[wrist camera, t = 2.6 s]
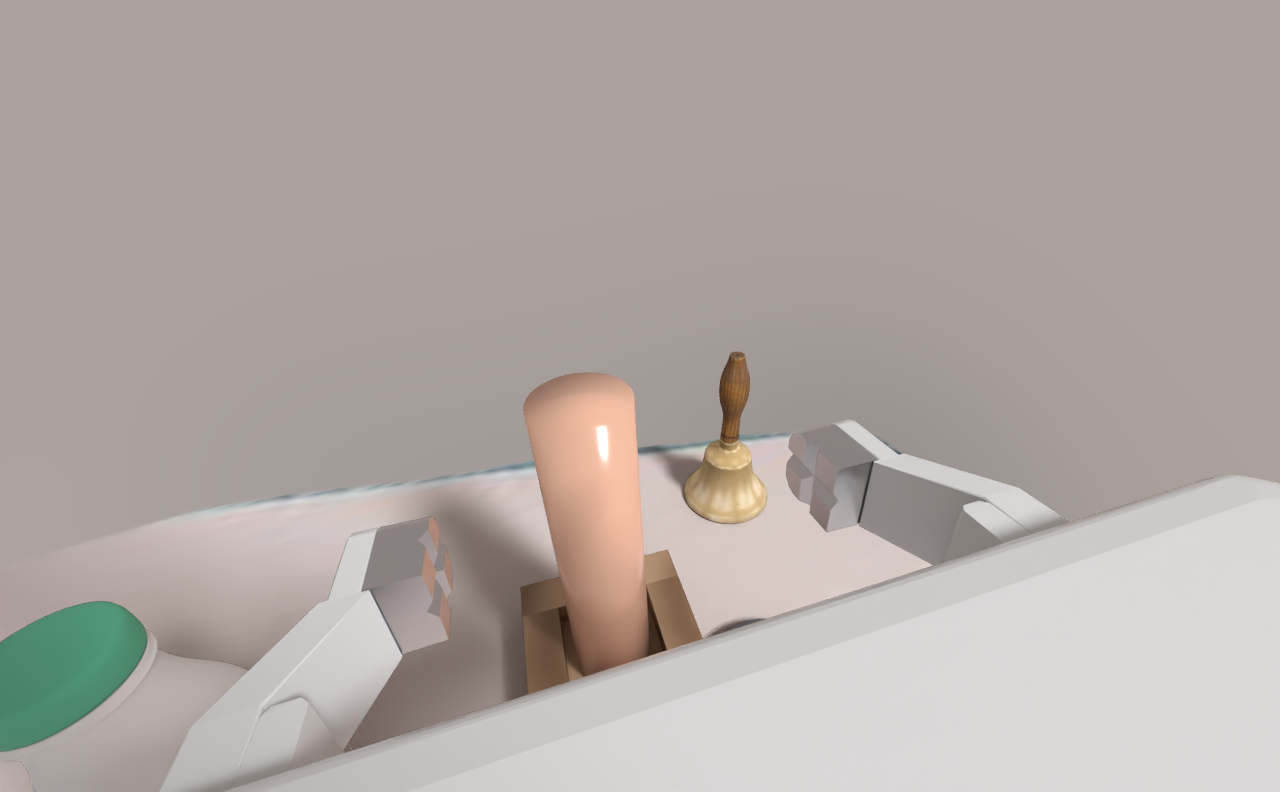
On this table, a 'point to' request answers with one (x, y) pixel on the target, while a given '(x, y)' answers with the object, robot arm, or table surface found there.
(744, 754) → the robot arm
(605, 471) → the tall peach cylinder
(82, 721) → the milk bottle
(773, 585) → the table surface
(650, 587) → the pocket block
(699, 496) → the hand bell
